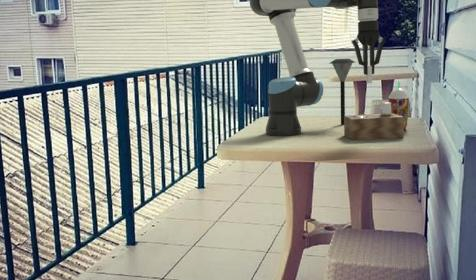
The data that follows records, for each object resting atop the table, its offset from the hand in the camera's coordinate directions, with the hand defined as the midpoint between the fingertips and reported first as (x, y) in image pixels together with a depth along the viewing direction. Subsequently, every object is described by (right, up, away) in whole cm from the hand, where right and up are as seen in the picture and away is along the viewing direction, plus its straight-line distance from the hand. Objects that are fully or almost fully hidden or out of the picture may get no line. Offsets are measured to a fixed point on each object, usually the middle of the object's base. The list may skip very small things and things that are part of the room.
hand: (369, 83), depth 204 cm
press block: (+3, -21, +4) cm, 21 cm away
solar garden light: (-2, -15, +40) cm, 43 cm away
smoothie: (+17, -18, +18) cm, 31 cm away
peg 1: (-2, -21, +4) cm, 21 cm away
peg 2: (+7, -15, +3) cm, 17 cm away
